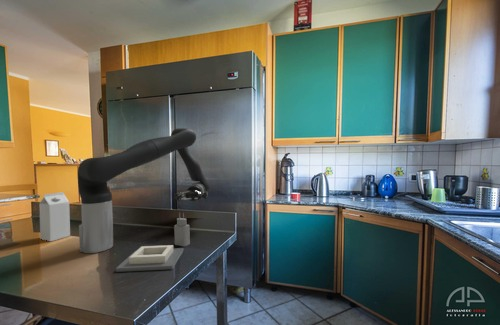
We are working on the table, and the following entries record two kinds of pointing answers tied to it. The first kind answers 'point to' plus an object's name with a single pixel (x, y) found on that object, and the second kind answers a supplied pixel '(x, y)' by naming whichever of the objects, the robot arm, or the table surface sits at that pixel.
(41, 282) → the table surface
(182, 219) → the power adapter
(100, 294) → the table surface
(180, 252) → the docking plate
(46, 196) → the milk carton
